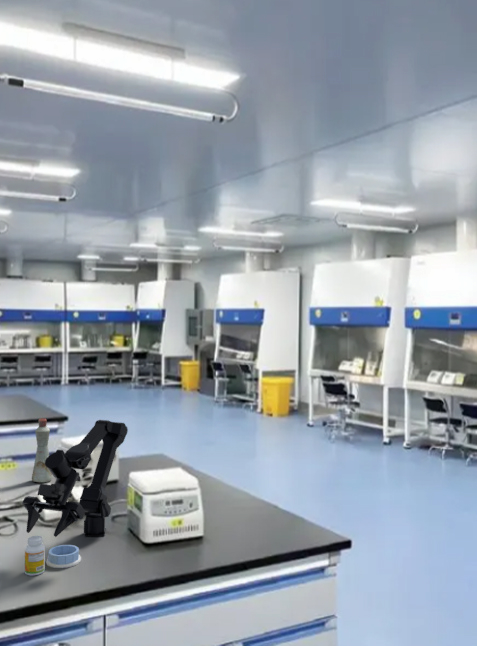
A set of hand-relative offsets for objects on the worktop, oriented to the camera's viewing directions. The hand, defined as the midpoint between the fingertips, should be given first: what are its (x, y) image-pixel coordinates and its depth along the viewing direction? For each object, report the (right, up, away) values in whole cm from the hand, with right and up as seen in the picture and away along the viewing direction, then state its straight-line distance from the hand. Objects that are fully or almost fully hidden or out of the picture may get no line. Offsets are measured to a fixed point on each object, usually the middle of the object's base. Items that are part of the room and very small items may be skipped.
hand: (41, 534), depth 177 cm
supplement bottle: (-1, -10, -3) cm, 11 cm away
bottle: (-30, -9, +93) cm, 98 cm away
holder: (+5, -10, +5) cm, 12 cm away
